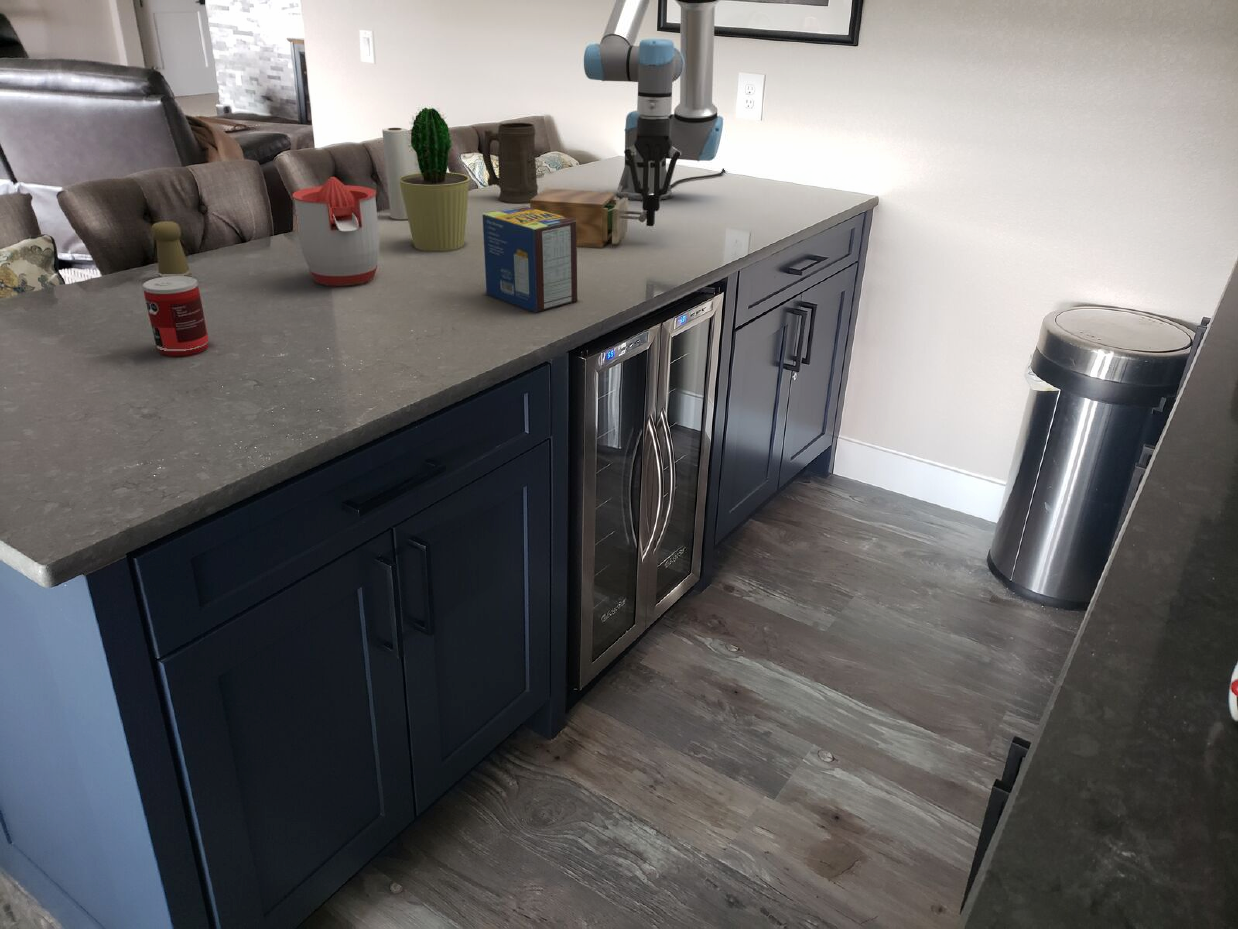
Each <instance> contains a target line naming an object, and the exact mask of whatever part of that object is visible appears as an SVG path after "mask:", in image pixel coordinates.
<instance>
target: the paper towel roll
mask: <svg viewBox="0 0 1238 929" xmlns="http://www.w3.org/2000/svg"><path fill="white" fill-rule="evenodd" d="M381 132H382V141H383V142H382V143H383V152H384V164H385V174H386V184H387V193H388V194H387V195H388V205H389V216H390V219H393V220H408V217H407V213H406V208H405V204H404V200H403V195H402V191H401V187H400V181H399V178H400V177H402V176H405V175H409V174H415V173H421V170H420V168H419V166H418V165H419V164H418V160H417V157H416V152H415V150H413V149H412V148H413V147H412V146H411V145H412V144H411V141H410V140H411V130H410V129H408V128H406V127H405V128H404V127H386V128H383V129H381ZM408 132H409V133H410V134H409V133H408ZM407 138H408V139H407ZM408 140H409V141H408ZM409 142H410V143H409ZM408 146H411V147H408ZM411 149H412V150H411ZM415 161H416V162H415ZM416 163H417V164H418V165H417V164H416ZM414 165H415V166H414ZM416 167H417V168H416Z"/></svg>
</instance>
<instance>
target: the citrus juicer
mask: <svg viewBox="0 0 1238 929" xmlns="http://www.w3.org/2000/svg"><path fill="white" fill-rule="evenodd" d="M376 195H377V191H376V190H375V189H373V188H370V187H367V186H360V185H348V184H347V185H346V184H344V183H343V182H342V181H341V180H339V179H338V178H337V177H335V176H330V177H329V178H328V179H327V180H326V181H325V182H324V184H323V185H320V186H313V187H307V188H302V189H298V190H297V191H294V192H293V193H292V195H291V197H292V198H293V200H294V209H295V214H296V223H297V229H298V235H299V242H300V246H301V251H302V254H303V257H304V260H305V263H306V265H307V267H308V270H309V272H310V275H311V276H312V278H313V279H314V281H315V282H317V283H319V284H322V285H326V286H328V287H338V286H351V285H358V284H365V283H369V282H370V281H371V280H372V279H374V278H375V275H376V273H377V269H378V262H379V261H378V260H379V256H380V255H379V254H380V229H379V222H378V221H379V220H378V210H377V209H378V208H377V201H376Z"/></svg>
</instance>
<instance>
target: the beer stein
mask: <svg viewBox="0 0 1238 929" xmlns="http://www.w3.org/2000/svg"><path fill="white" fill-rule="evenodd" d="M535 137H536V129H535V124H533V123H528V122H508V123H501V124H499V125H498V129H497V132H494V131H492V130H491V129H485V130H484V139H483V143H482V149H481V150H482V153H481V154H482V159H483V163H484V166H485V168H486V170H487V173H488V179H487V185H488V186H489V187H491V186H497V187H499V191H500V192H499V200H500V201H501V202H504V203H510V204H530V200H531V199H532V198H534V197H535V196H536V195H538V194H539V193H538V188H539V185H538V181H537V161H536V146H535V145H536V144H535V142H536V141H535V139H536V138H535ZM493 141H496V142H498V150H497V151H498V152H497V160H498V161H497V162H498V176H497V174H496V171H495V168H494V165H493V162H492V157H491V144H492V142H493Z"/></svg>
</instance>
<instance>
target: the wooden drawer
mask: <svg viewBox="0 0 1238 929" xmlns="http://www.w3.org/2000/svg"><path fill="white" fill-rule="evenodd" d="M606 205H616V206H615V207H614V208H613V217H612V228H611V229H608V208H603V241H607V240H608V239H609V238H610V236H611V235H612V237H611V238H610V239H611V244H612V245H617V244H619V242H620V241H621V240H622V238H623V237H624V236H625V234H627V232H628V220H637V221H639V222H640V223H644V222H645V221H647V210H642V211H635V210H629V199H628V198H622V197H621V199H620V200H619V201H618V202H617V198H614V199H611V200H610V201H609V202H608V203H607V204H606ZM636 215H637V216H636ZM610 239H609V240H610ZM609 240H608V241H609ZM608 241H607V242H608Z"/></svg>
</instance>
